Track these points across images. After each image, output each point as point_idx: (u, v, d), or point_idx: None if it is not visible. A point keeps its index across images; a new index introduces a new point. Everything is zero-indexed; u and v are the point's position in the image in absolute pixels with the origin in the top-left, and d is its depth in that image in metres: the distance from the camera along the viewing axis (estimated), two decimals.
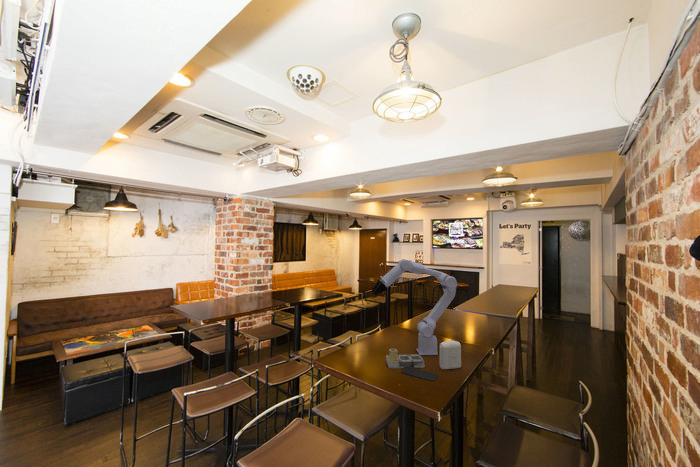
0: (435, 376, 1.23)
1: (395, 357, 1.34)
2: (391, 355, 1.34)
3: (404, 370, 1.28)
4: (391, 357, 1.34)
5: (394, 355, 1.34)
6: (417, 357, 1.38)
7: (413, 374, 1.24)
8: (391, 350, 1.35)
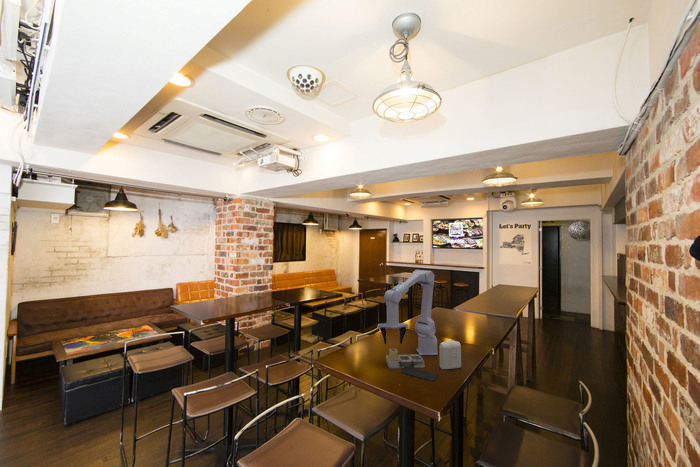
0: (435, 376, 1.23)
1: (395, 357, 1.34)
2: (391, 355, 1.34)
3: (404, 370, 1.28)
4: (391, 357, 1.34)
5: (394, 355, 1.34)
6: (417, 357, 1.38)
7: (413, 374, 1.24)
8: (391, 350, 1.35)
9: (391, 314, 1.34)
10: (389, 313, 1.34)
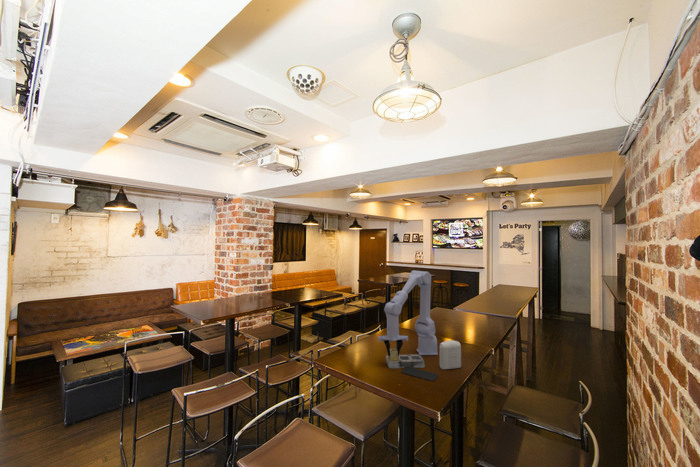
0: (435, 376, 1.23)
1: (395, 357, 1.34)
2: (391, 355, 1.34)
3: (404, 370, 1.28)
4: (391, 357, 1.34)
5: (394, 355, 1.34)
6: (417, 357, 1.38)
7: (413, 374, 1.24)
8: (391, 350, 1.35)
9: (391, 327, 1.34)
10: (389, 326, 1.34)
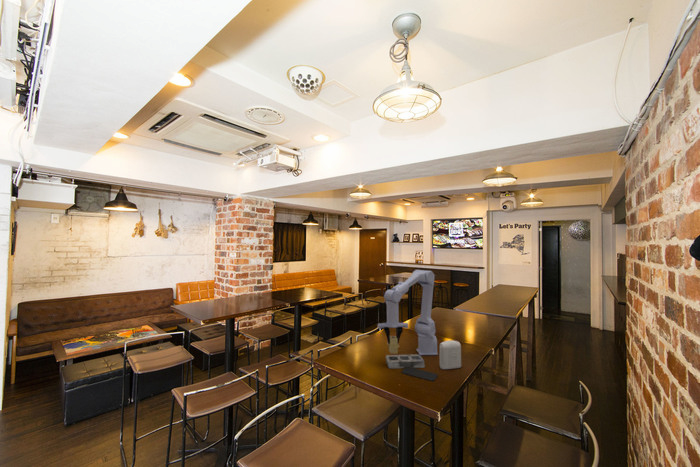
0: (435, 376, 1.23)
1: (395, 344, 1.34)
2: (391, 342, 1.34)
3: (404, 370, 1.28)
4: (391, 344, 1.34)
5: (394, 342, 1.34)
6: (417, 357, 1.38)
7: (413, 374, 1.24)
8: (391, 337, 1.36)
9: (391, 314, 1.34)
10: (389, 313, 1.34)
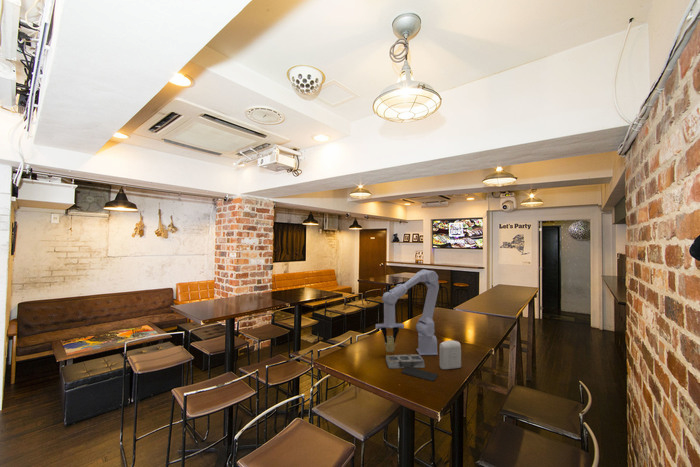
0: (435, 376, 1.23)
1: (391, 343, 1.43)
2: (388, 341, 1.43)
3: (404, 370, 1.28)
4: (388, 343, 1.43)
5: (391, 341, 1.43)
6: (417, 357, 1.38)
7: (413, 374, 1.24)
8: (388, 337, 1.44)
9: (386, 314, 1.43)
10: (385, 313, 1.44)
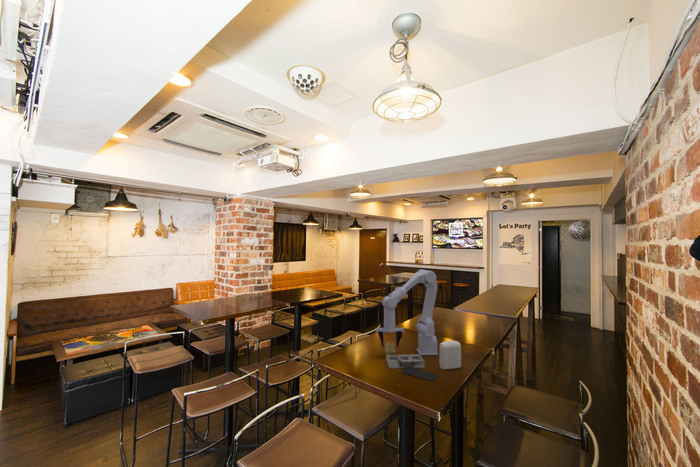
0: (435, 376, 1.23)
1: (392, 350, 1.43)
2: (388, 348, 1.43)
3: (404, 370, 1.28)
4: (388, 350, 1.43)
5: (391, 348, 1.43)
6: (417, 357, 1.38)
7: (413, 374, 1.24)
8: (388, 343, 1.44)
9: (386, 319, 1.43)
10: (385, 318, 1.44)
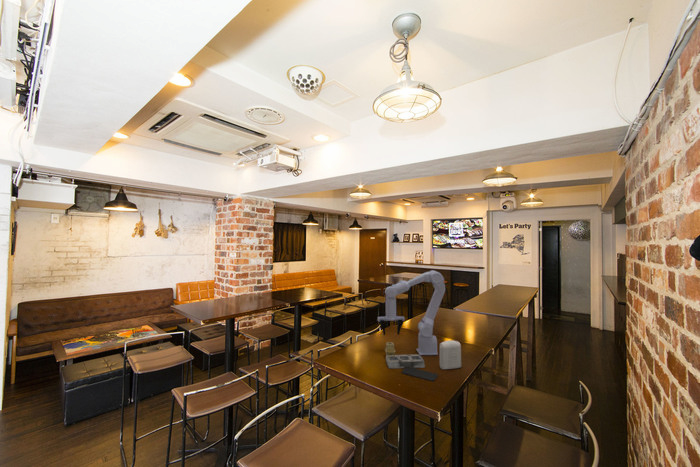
0: (435, 376, 1.23)
1: (392, 350, 1.43)
2: (388, 348, 1.43)
3: (404, 370, 1.28)
4: (388, 350, 1.43)
5: (391, 348, 1.43)
6: (417, 357, 1.38)
7: (413, 374, 1.24)
8: (388, 343, 1.44)
9: (386, 307, 1.51)
10: None
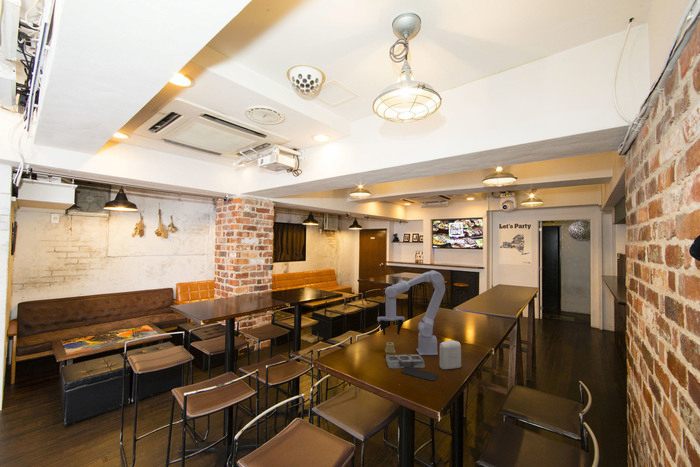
0: (435, 376, 1.23)
1: (392, 350, 1.43)
2: (388, 348, 1.43)
3: (404, 370, 1.28)
4: (388, 350, 1.43)
5: (391, 348, 1.43)
6: (417, 357, 1.38)
7: (413, 374, 1.24)
8: (388, 343, 1.44)
9: (386, 307, 1.51)
10: None
